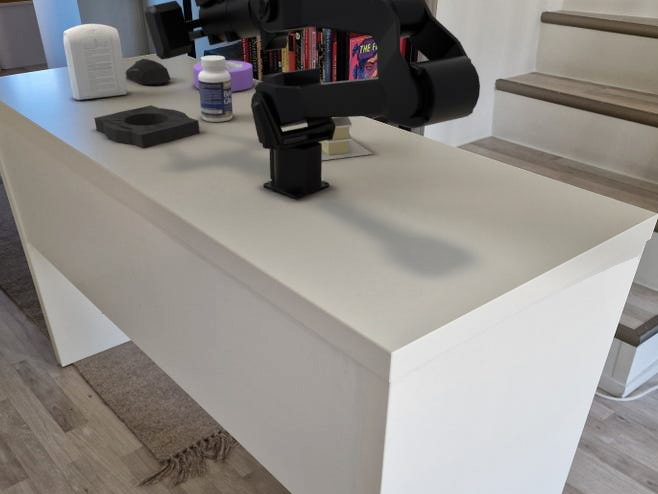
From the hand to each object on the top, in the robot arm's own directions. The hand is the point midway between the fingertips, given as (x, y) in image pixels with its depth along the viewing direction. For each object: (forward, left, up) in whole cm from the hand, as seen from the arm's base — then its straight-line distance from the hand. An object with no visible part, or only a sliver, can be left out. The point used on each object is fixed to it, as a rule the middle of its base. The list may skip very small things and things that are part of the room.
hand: (181, 26), depth 95 cm
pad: (+9, +2, -16) cm, 19 cm away
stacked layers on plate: (-18, -13, -17) cm, 28 cm away
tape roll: (+24, -27, -17) cm, 40 cm away
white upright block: (+34, -5, -17) cm, 39 cm away
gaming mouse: (+40, -19, -17) cm, 48 cm away
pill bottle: (+7, -11, -17) cm, 21 cm away
